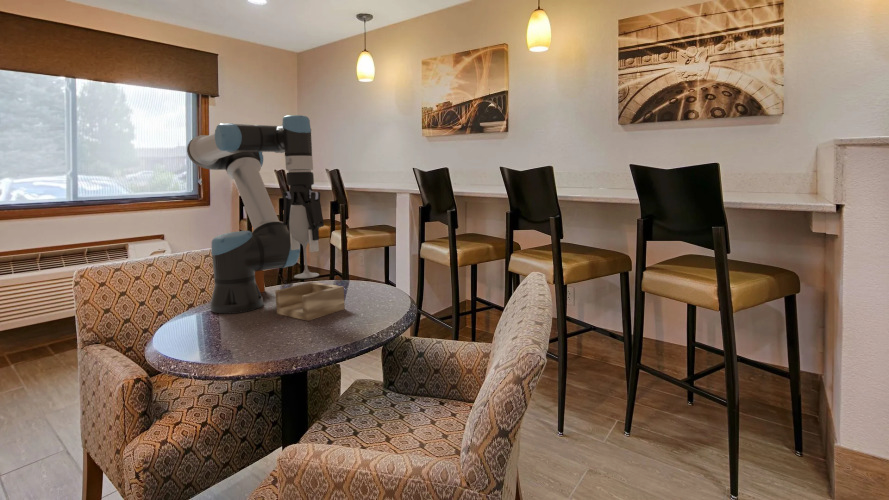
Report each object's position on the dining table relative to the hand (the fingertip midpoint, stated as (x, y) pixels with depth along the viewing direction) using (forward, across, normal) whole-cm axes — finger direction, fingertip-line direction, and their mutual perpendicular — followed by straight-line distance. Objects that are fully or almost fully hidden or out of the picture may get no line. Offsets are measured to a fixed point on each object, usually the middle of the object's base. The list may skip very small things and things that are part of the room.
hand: (304, 250), depth 146 cm
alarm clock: (+19, -37, +3) cm, 42 cm away
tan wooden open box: (+19, 0, +1) cm, 19 cm away
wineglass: (+8, 0, 0) cm, 8 cm away
